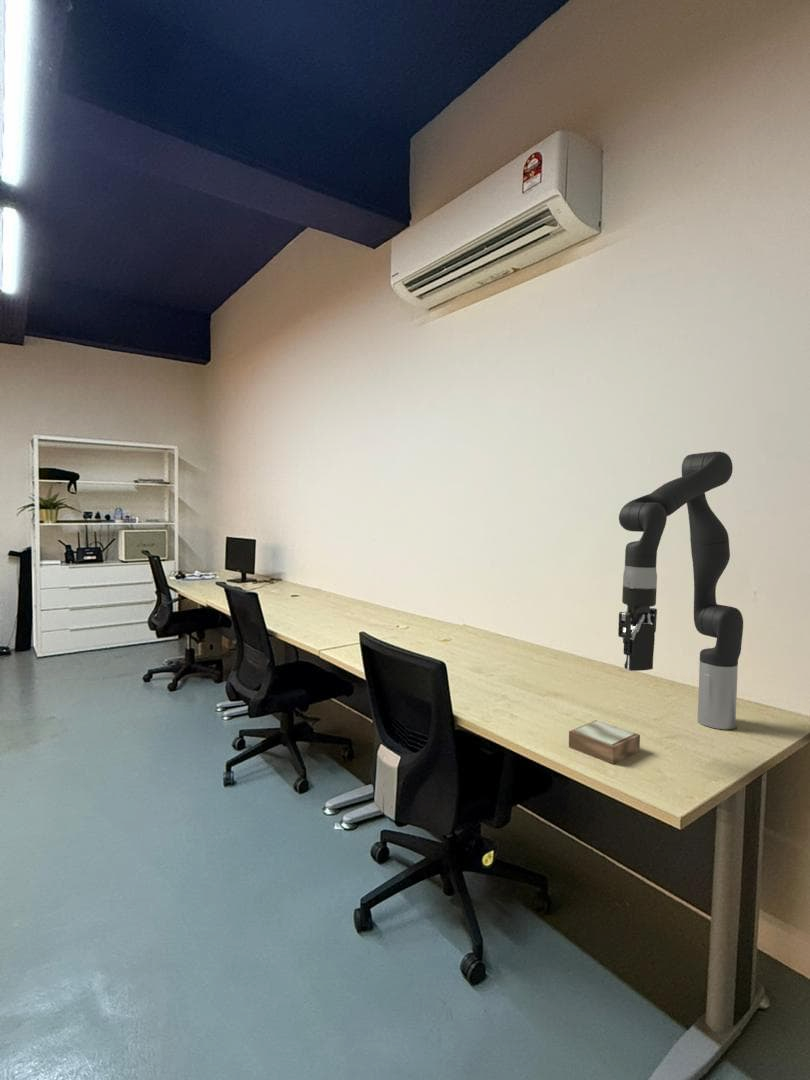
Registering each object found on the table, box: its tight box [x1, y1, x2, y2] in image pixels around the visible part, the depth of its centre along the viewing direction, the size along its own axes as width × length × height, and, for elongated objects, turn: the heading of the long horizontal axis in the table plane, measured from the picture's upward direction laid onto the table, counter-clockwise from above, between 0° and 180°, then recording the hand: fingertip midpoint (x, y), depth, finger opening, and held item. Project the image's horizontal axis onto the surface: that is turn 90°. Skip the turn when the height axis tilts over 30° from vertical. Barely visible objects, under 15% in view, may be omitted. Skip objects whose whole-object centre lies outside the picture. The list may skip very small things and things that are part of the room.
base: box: [568, 719, 641, 765], centre depth 136 cm, size 12×12×4 cm
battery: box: [622, 623, 656, 672], centre depth 134 cm, size 7×4×11 cm, turn 107°
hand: (636, 652), depth 134 cm, fingers closed on battery, 7 cm apart
